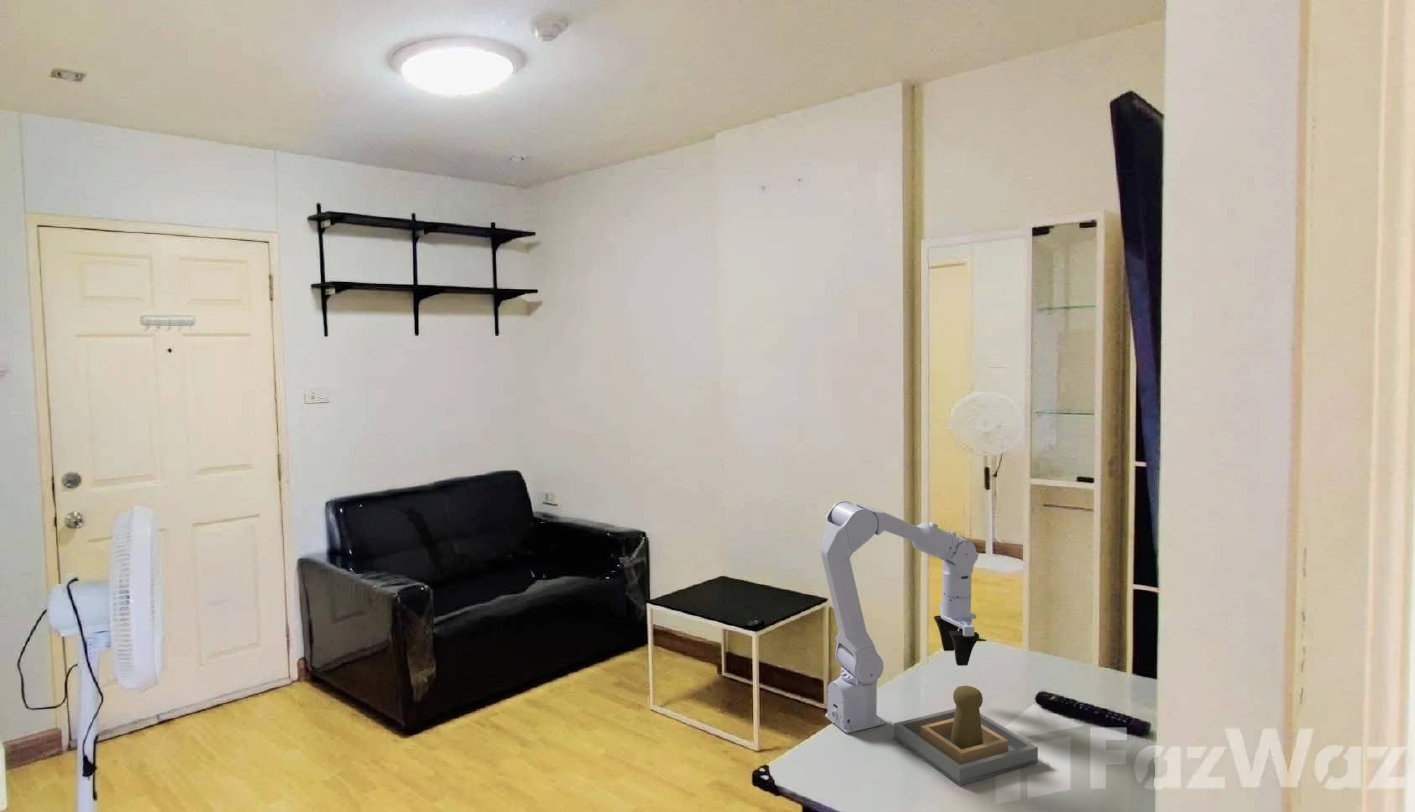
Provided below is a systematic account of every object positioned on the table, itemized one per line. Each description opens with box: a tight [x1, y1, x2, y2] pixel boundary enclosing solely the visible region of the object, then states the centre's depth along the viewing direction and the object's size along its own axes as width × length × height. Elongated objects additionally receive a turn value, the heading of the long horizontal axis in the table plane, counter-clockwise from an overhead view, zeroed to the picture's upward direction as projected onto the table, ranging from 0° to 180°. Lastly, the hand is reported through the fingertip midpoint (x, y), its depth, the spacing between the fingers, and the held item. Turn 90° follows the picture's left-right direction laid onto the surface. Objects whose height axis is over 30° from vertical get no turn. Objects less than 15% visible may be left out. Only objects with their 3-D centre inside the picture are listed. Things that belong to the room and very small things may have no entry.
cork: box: [950, 685, 984, 750], centre depth 145 cm, size 6×6×11 cm
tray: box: [893, 708, 1039, 787], centre depth 145 cm, size 18×18×3 cm
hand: (955, 657), depth 163 cm, fingers open, 7 cm apart
